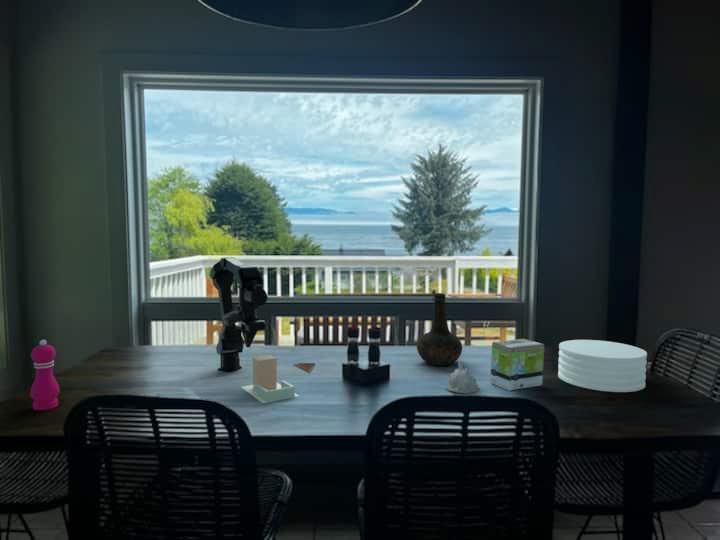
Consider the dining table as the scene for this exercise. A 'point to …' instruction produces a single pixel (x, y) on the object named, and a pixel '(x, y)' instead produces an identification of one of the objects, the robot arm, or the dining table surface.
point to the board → (272, 392)
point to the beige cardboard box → (265, 372)
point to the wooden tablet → (305, 366)
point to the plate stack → (602, 365)
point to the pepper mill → (44, 378)
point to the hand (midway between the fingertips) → (248, 347)
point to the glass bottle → (439, 338)
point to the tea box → (517, 364)
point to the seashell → (462, 381)
